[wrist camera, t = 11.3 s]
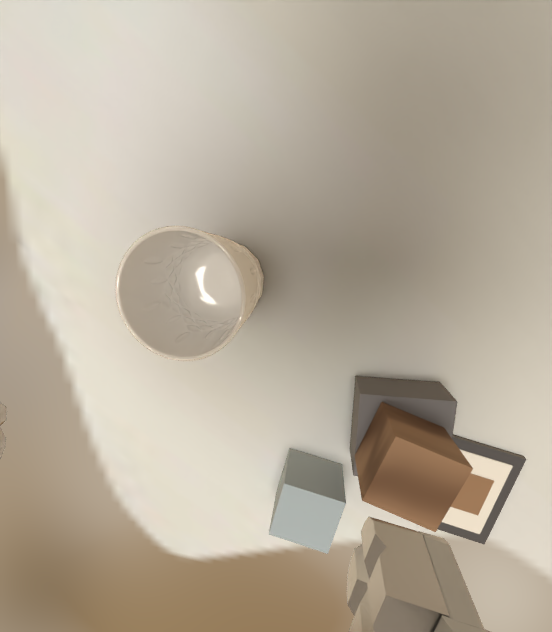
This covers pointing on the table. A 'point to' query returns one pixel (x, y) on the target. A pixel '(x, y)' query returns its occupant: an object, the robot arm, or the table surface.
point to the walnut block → (410, 467)
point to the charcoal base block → (399, 404)
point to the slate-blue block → (308, 501)
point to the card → (481, 490)
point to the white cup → (186, 291)
